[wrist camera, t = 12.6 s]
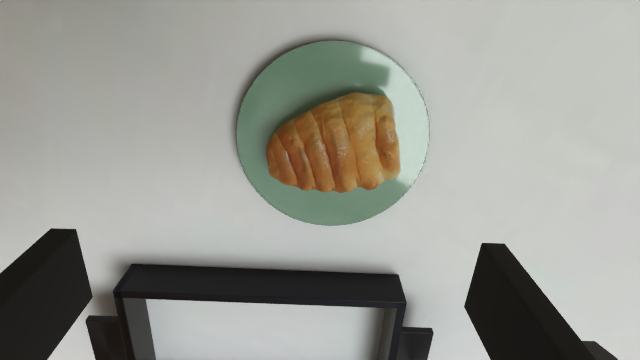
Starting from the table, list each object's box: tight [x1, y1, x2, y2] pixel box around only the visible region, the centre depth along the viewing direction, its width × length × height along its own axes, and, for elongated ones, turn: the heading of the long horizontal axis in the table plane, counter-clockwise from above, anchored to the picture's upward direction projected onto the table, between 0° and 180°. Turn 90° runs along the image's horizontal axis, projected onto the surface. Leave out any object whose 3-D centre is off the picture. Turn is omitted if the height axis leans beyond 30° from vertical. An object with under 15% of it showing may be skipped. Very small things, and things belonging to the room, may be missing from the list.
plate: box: [236, 40, 430, 226], centre depth 29 cm, size 14×14×1 cm
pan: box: [86, 264, 433, 360], centre depth 35 cm, size 29×13×4 cm, turn 87°
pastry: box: [266, 92, 401, 193], centre depth 26 cm, size 9×7×4 cm
